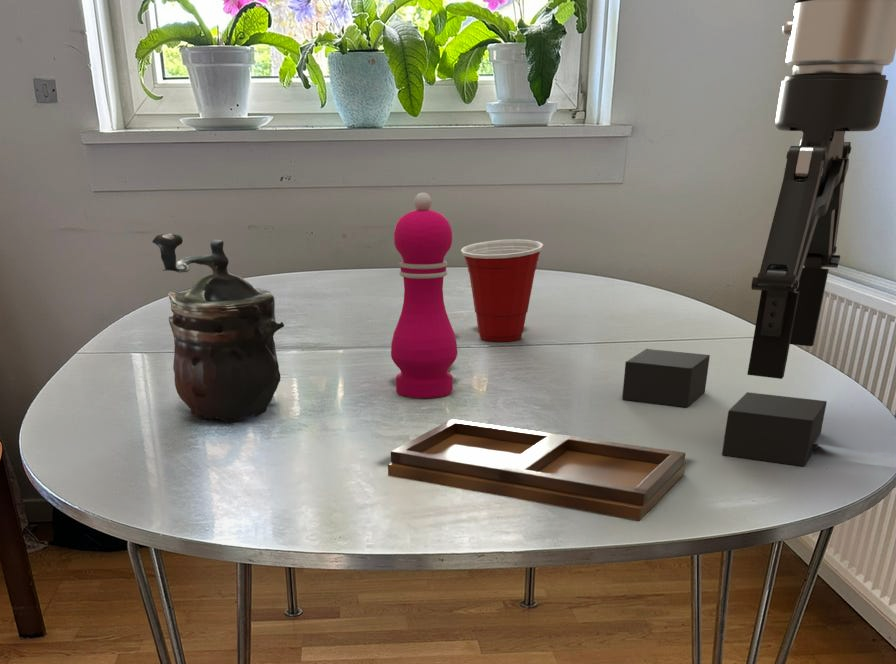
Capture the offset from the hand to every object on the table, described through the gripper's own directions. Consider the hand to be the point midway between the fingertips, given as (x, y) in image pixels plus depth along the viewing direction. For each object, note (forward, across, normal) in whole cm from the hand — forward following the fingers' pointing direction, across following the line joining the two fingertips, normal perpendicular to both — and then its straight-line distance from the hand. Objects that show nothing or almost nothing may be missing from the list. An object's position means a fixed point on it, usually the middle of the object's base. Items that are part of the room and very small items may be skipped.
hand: (782, 359), depth 81 cm
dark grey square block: (+8, -14, -14) cm, 21 cm away
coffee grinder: (+9, +14, -50) cm, 53 cm away
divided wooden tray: (+8, +16, -16) cm, 24 cm away
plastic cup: (+9, -34, -43) cm, 55 cm away
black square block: (+8, 0, 0) cm, 8 cm away
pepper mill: (+9, -4, -38) cm, 39 cm away
